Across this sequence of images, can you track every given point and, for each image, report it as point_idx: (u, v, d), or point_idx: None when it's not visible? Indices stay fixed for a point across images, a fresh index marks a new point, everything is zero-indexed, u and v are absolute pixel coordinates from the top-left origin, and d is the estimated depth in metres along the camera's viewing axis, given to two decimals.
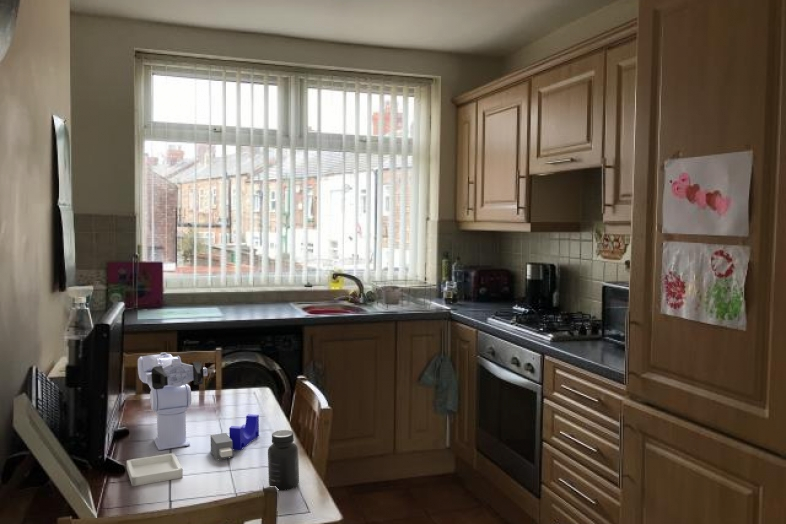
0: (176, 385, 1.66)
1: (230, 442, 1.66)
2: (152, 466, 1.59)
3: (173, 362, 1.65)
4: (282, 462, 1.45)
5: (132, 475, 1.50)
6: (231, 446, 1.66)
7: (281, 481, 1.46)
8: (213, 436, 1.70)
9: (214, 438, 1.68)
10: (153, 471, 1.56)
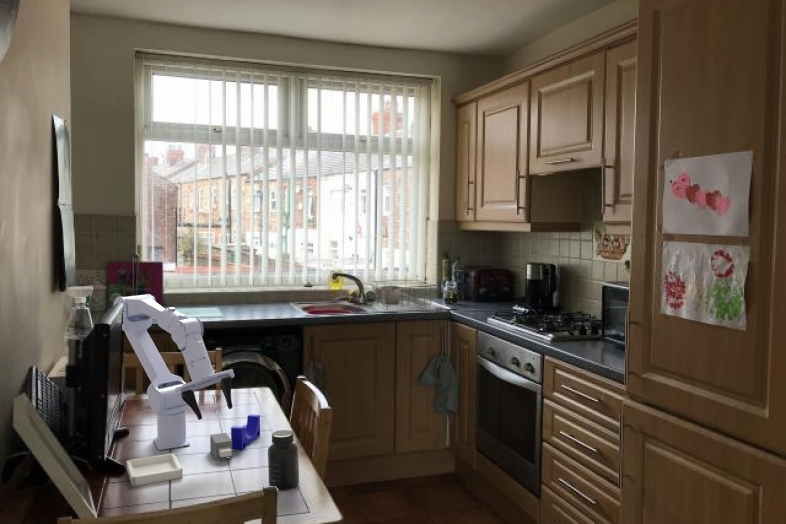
0: (202, 385, 1.68)
1: (230, 442, 1.66)
2: (152, 466, 1.59)
3: (203, 379, 1.63)
4: (282, 462, 1.45)
5: (132, 475, 1.50)
6: (231, 446, 1.66)
7: (281, 481, 1.46)
8: (213, 436, 1.70)
9: (214, 438, 1.68)
10: (153, 471, 1.56)
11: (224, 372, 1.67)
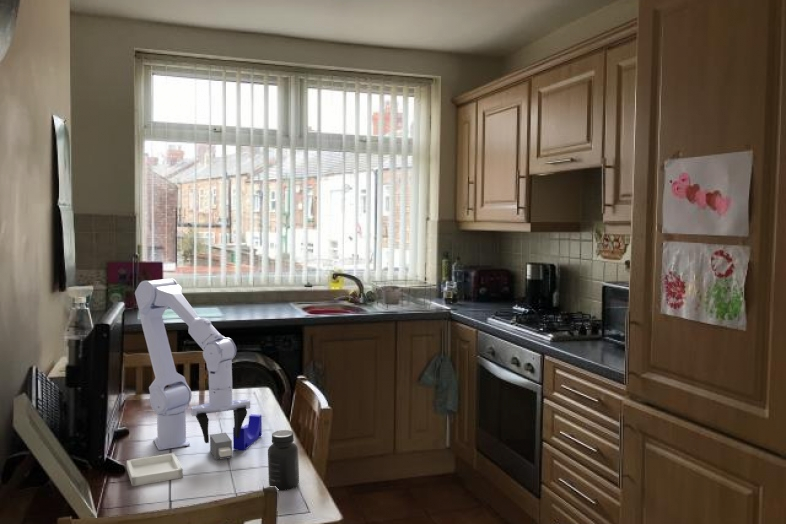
0: None
1: (229, 442, 1.66)
2: (152, 466, 1.59)
3: None
4: (282, 462, 1.45)
5: (132, 475, 1.50)
6: (230, 446, 1.67)
7: (281, 481, 1.46)
8: (213, 436, 1.70)
9: (213, 438, 1.69)
10: (153, 471, 1.56)
11: (242, 404, 1.69)
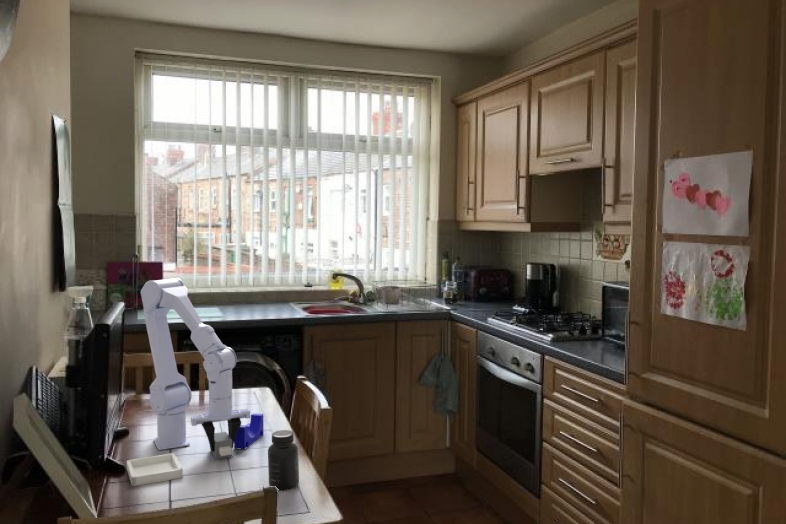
0: None
1: (230, 441, 1.67)
2: (152, 466, 1.59)
3: (221, 419, 1.65)
4: (282, 462, 1.45)
5: (132, 475, 1.50)
6: (231, 445, 1.67)
7: (281, 481, 1.46)
8: None
9: (214, 437, 1.69)
10: (153, 471, 1.56)
11: (242, 413, 1.69)
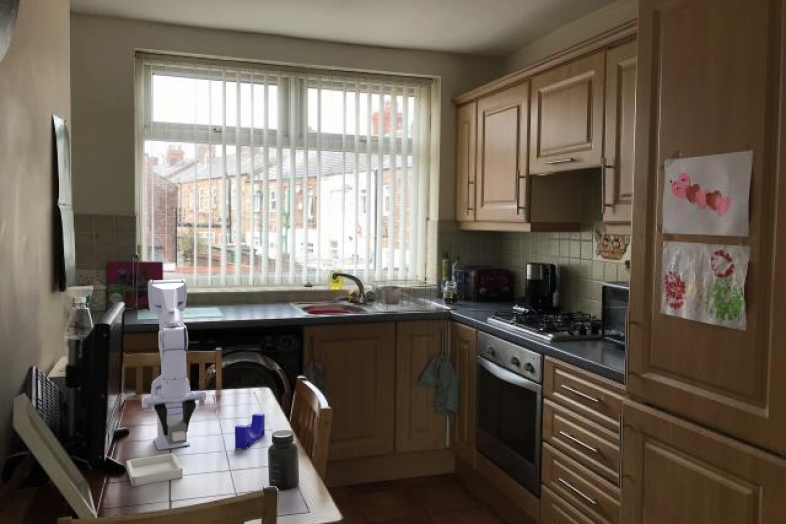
0: None
1: (184, 425, 1.58)
2: (152, 466, 1.59)
3: (173, 401, 1.56)
4: (282, 462, 1.45)
5: (132, 475, 1.50)
6: (185, 429, 1.58)
7: (281, 481, 1.46)
8: None
9: (167, 421, 1.60)
10: (153, 471, 1.56)
11: (197, 395, 1.60)
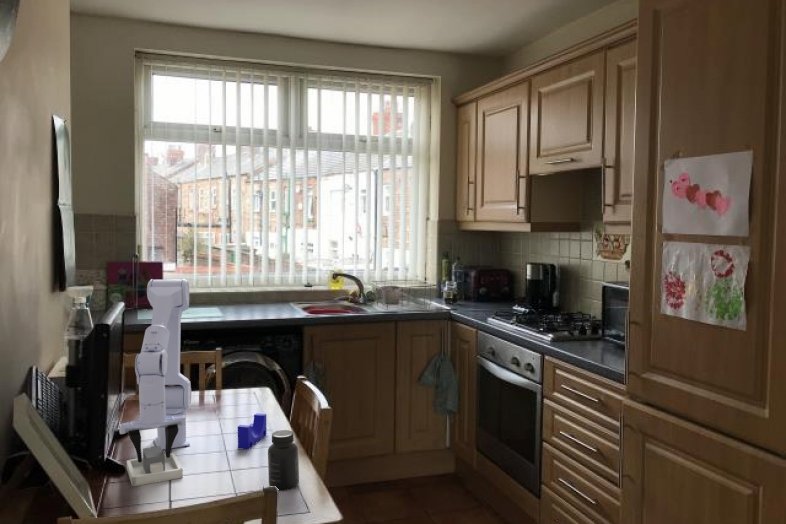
0: None
1: (162, 456, 1.54)
2: None
3: (151, 427, 1.53)
4: (282, 462, 1.45)
5: (132, 475, 1.50)
6: (163, 461, 1.54)
7: (281, 481, 1.46)
8: (145, 450, 1.58)
9: (146, 452, 1.56)
10: None
11: (176, 420, 1.57)
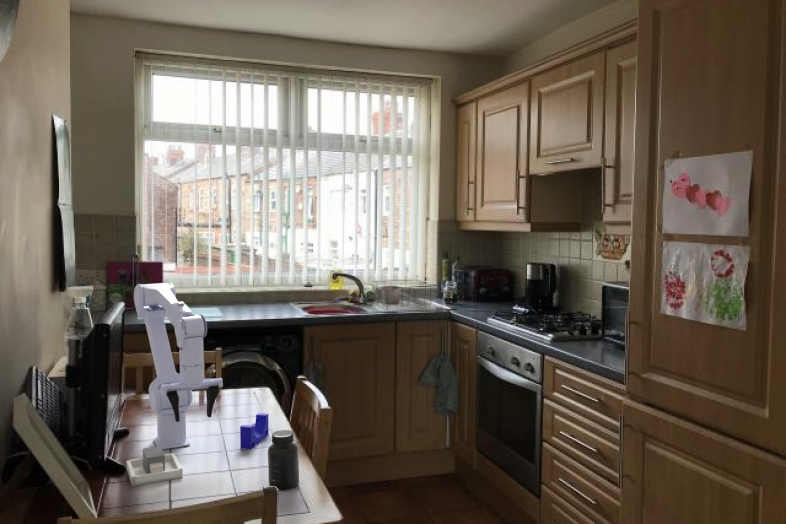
0: None
1: (162, 456, 1.54)
2: None
3: (191, 387, 1.61)
4: (282, 462, 1.45)
5: (132, 475, 1.50)
6: (163, 461, 1.54)
7: (281, 481, 1.46)
8: (145, 450, 1.58)
9: (146, 452, 1.56)
10: None
11: (214, 382, 1.65)
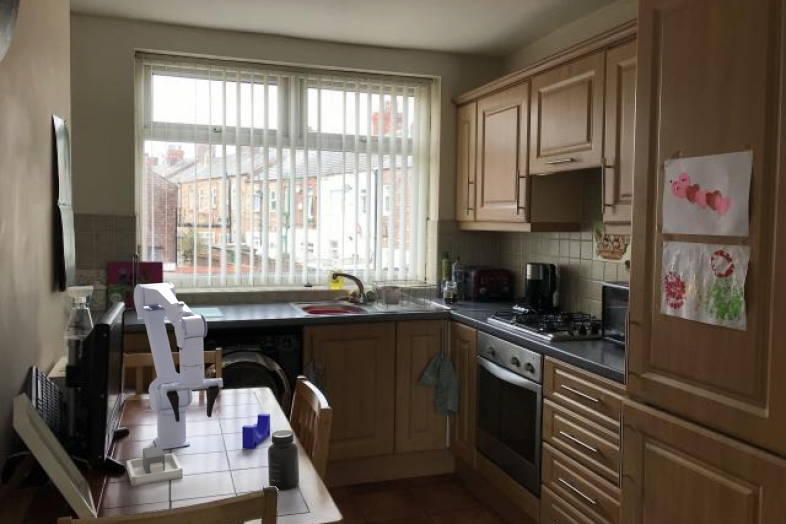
0: None
1: (162, 456, 1.54)
2: None
3: (191, 387, 1.61)
4: (282, 462, 1.45)
5: (132, 475, 1.50)
6: (163, 461, 1.54)
7: (281, 481, 1.46)
8: (145, 450, 1.58)
9: (146, 452, 1.56)
10: None
11: (214, 382, 1.65)
